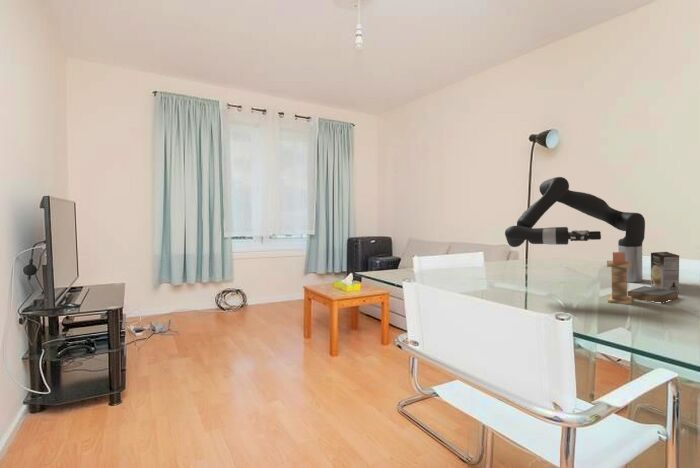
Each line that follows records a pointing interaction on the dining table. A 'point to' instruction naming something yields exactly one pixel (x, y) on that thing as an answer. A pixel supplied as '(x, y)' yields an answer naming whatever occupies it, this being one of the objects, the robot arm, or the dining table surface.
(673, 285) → the coffee box
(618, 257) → the block
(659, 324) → the dining table surface
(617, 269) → the wooden pedestal
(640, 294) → the dock
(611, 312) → the dining table surface
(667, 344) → the dining table surface
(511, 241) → the robot arm
